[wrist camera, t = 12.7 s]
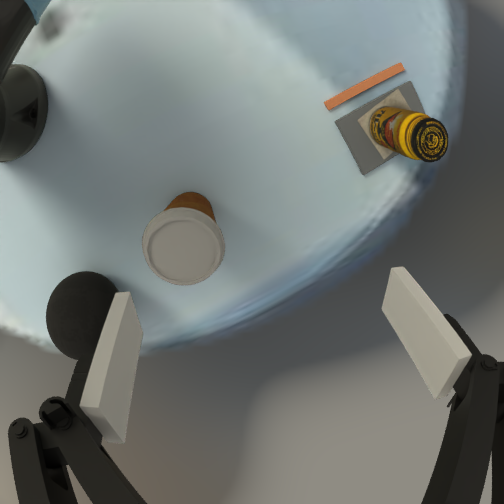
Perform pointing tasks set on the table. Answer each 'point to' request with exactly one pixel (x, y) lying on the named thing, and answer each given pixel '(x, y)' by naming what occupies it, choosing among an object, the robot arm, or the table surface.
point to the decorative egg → (79, 312)
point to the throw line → (363, 86)
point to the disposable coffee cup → (184, 241)
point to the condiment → (404, 130)
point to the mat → (359, 140)
